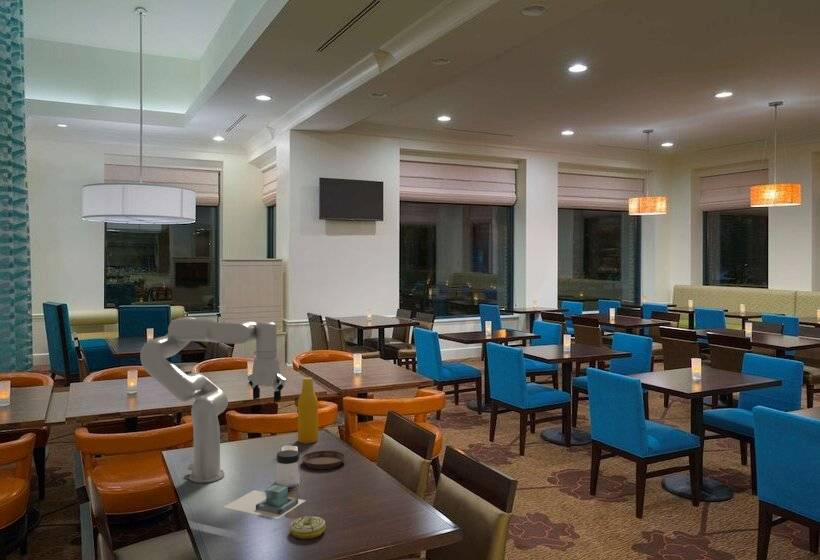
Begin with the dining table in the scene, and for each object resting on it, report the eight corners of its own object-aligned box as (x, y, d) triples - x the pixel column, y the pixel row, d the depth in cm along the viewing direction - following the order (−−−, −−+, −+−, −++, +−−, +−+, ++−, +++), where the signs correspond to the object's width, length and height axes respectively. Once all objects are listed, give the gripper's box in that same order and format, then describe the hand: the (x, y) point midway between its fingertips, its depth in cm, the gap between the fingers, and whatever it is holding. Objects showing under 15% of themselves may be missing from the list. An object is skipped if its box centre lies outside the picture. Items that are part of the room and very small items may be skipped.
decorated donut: (300, 523, 187) (300, 511, 187) (331, 528, 184) (331, 516, 184) (283, 537, 178) (283, 525, 177) (315, 543, 174) (315, 530, 174)
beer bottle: (307, 436, 280) (307, 375, 279) (322, 440, 274) (322, 377, 273) (293, 441, 272) (293, 378, 271) (307, 445, 267) (307, 381, 266)
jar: (280, 491, 213) (280, 458, 212) (272, 484, 219) (272, 452, 219) (303, 486, 218) (303, 454, 217) (295, 479, 224) (295, 448, 224)
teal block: (266, 507, 195) (266, 489, 195) (275, 502, 200) (275, 484, 199) (278, 510, 193) (278, 492, 193) (287, 504, 198) (287, 486, 197)
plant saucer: (308, 456, 252) (308, 449, 252) (349, 457, 251) (349, 450, 251) (296, 470, 235) (296, 463, 235) (340, 472, 233) (340, 464, 233)
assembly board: (222, 511, 195) (222, 502, 195) (253, 494, 210) (253, 486, 210) (277, 523, 187) (277, 514, 186) (306, 504, 201) (306, 496, 201)
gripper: (241, 354, 224) (241, 399, 224) (279, 357, 217) (279, 404, 217) (254, 352, 230) (254, 395, 231) (291, 355, 223) (291, 400, 224)
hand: (266, 399), depth 224 cm, fingers open, 9 cm apart
